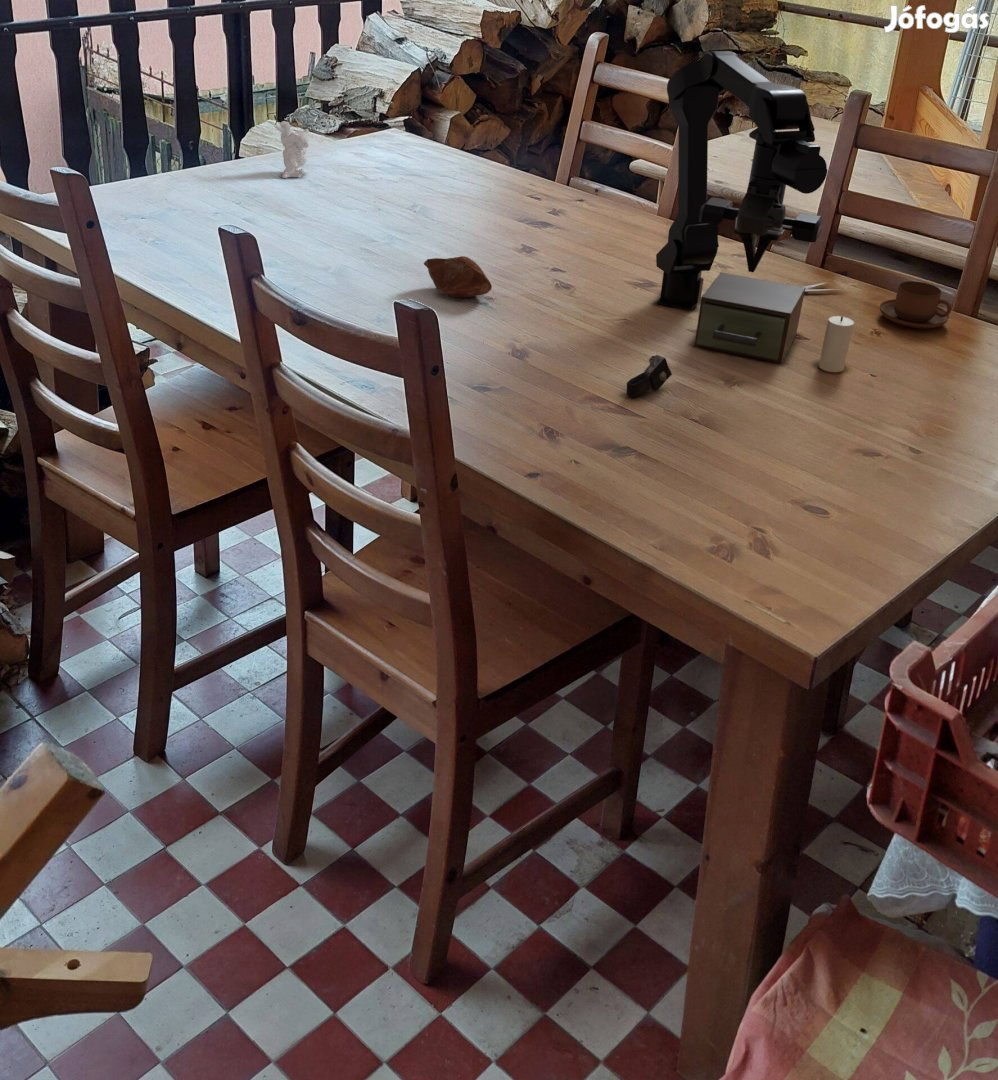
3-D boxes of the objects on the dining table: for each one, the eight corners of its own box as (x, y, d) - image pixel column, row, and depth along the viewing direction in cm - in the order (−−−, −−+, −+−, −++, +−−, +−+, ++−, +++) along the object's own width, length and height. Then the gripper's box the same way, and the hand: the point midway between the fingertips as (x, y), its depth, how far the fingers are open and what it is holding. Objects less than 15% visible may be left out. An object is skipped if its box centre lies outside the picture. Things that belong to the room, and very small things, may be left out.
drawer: (771, 370, 187) (779, 330, 183) (689, 354, 191) (695, 314, 187) (791, 334, 201) (798, 295, 197) (714, 319, 205) (720, 281, 201)
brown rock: (505, 285, 206) (474, 236, 202) (470, 314, 204) (438, 265, 200) (474, 288, 217) (445, 242, 213) (441, 315, 215) (410, 269, 211)
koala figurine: (282, 181, 266) (280, 126, 259) (270, 173, 270) (267, 119, 264) (316, 177, 270) (315, 123, 263) (304, 169, 274) (302, 116, 268)
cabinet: (781, 363, 192) (791, 313, 187) (694, 346, 196) (701, 296, 192) (796, 335, 203) (805, 287, 198) (713, 319, 207) (720, 272, 203)
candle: (816, 369, 191) (827, 317, 186) (820, 360, 194) (831, 309, 189) (841, 374, 190) (853, 322, 185) (845, 365, 193) (856, 314, 188)
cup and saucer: (947, 315, 215) (955, 283, 211) (945, 338, 205) (954, 305, 202) (879, 304, 218) (887, 272, 214) (875, 327, 208) (883, 293, 205)
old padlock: (641, 412, 179) (631, 390, 175) (631, 407, 181) (622, 385, 177) (675, 375, 181) (666, 353, 177) (665, 371, 182) (656, 348, 178)
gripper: (697, 177, 179) (682, 275, 188) (820, 197, 173) (799, 298, 182) (715, 160, 188) (700, 255, 196) (832, 179, 182) (812, 276, 191)
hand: (751, 271), depth 191 cm, fingers closed
